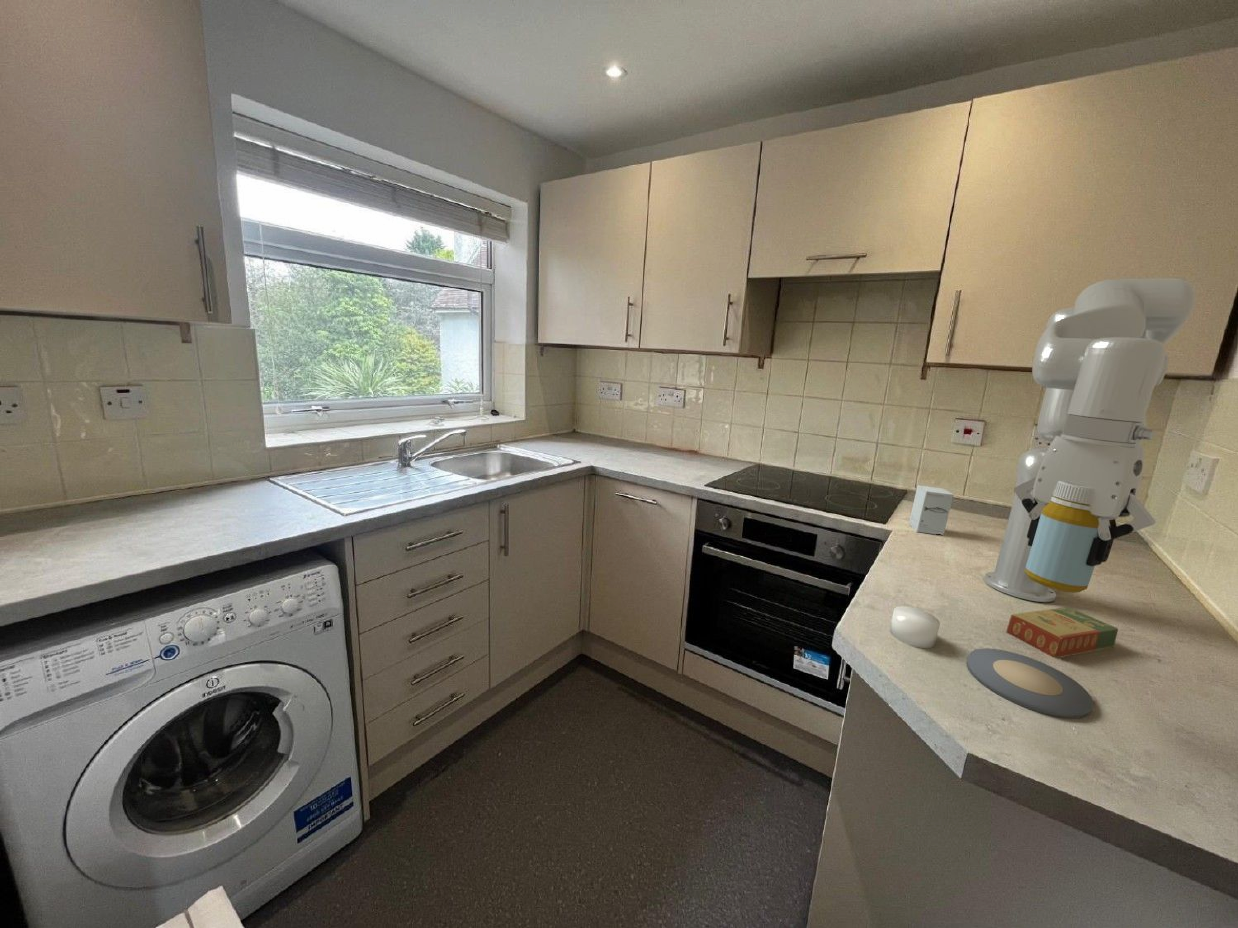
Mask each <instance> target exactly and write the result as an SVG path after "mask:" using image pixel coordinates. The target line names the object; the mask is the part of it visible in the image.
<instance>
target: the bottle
mask: <svg viewBox="0 0 1238 928" xmlns="http://www.w3.org/2000/svg"><path fill="white" fill-rule="evenodd" d="M1093 491H1094V490H1093V489H1092V488H1088V487H1082V486H1077V485H1072V484H1068V483H1065V482H1061V481H1058V484H1057V487H1055V490H1054V493H1053V494H1054V496H1055V497H1052V498H1051V501H1052V502H1050V503H1049V504H1047V505H1046V506H1045V507H1044V508H1043V510H1042V513H1041V516H1040V519H1039V523H1038V527H1037V530H1036V534H1035V537H1034V541H1033V544H1032V547H1031V551H1030V554H1029V558H1028V561H1027V565H1026V569H1025V572H1026V574H1027V575H1028V577H1029V578H1030V579H1031V580H1033V581H1034V582H1036V583H1039V584H1041V585H1043V586H1046V587H1049V588H1051V589H1052V590H1056V591H1059V592H1066V593H1073V594H1075V593H1080V592H1082V591H1083V592H1084V591H1085V590H1087V589H1088V586H1089V584H1090V581H1091V579H1092V576H1093V573H1094V569H1095V566H1089V565H1086V562H1087V559H1088V556H1089V552H1090V549H1091V546H1092V543H1093V540H1094V538H1099V534H1098V526H1099V520H1098V518H1097V517H1095V516H1094V515H1092V514H1091V512H1090V511H1091V506H1090V505H1091V503H1093V500H1092V495H1093Z"/></svg>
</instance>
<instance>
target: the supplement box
mask: <svg viewBox="0 0 1238 928" xmlns="http://www.w3.org/2000/svg"><path fill="white" fill-rule="evenodd" d="M953 498H954V494H953V493H952V492H950V491H949V490H947V489H945V488H941V487H932V486H927V485H919V484H918V485H917V487H916V491H915V495H914V500H913V504H912V509H911V511H910V512H911V514H910V517H909V522H908V525H909V526H910V525H911V526H912V527H911V526H910V527H911V528H912V529H913V530H914V531H915V530H916V531H917V532H916V531H915V532H916V533H923V534H925V533H926V534H930V535H936V534H941V535H943V536H944V535H945V531H946V527H947V522H948V518H949V514H950V509H951V506H952V502H953ZM941 535H940V536H941Z"/></svg>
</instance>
